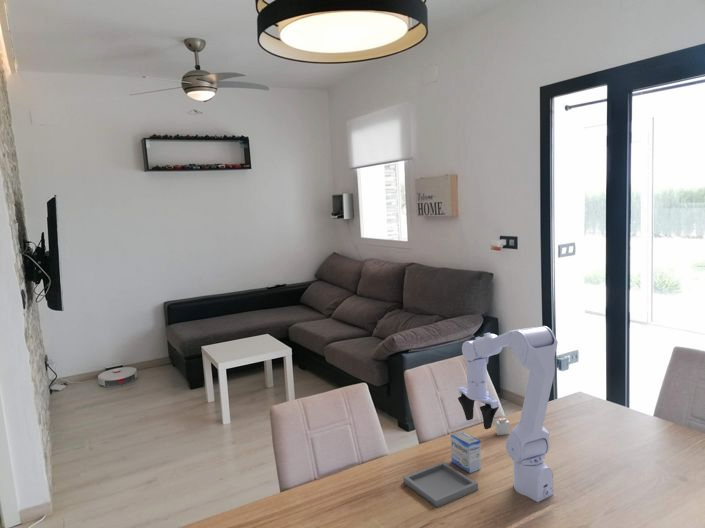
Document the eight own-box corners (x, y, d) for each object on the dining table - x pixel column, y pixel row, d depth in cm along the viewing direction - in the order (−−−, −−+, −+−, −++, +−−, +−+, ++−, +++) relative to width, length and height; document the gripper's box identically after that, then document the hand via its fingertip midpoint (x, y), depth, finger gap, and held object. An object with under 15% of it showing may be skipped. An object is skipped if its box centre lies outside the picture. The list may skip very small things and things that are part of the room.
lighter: (507, 432, 163) (507, 409, 163) (510, 434, 162) (509, 411, 161) (487, 435, 162) (486, 411, 162) (489, 437, 161) (488, 413, 160)
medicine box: (451, 462, 147) (449, 434, 146) (462, 458, 149) (461, 430, 148) (469, 473, 140) (468, 444, 139) (481, 469, 142) (480, 439, 141)
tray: (478, 489, 132) (477, 483, 131) (436, 507, 125) (436, 501, 125) (443, 467, 144) (443, 461, 144) (403, 483, 137) (403, 476, 137)
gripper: (505, 383, 144) (506, 428, 145) (470, 370, 156) (471, 412, 158) (487, 388, 140) (488, 435, 142) (452, 375, 153) (454, 418, 154)
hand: (478, 423), depth 150 cm, fingers open, 7 cm apart
